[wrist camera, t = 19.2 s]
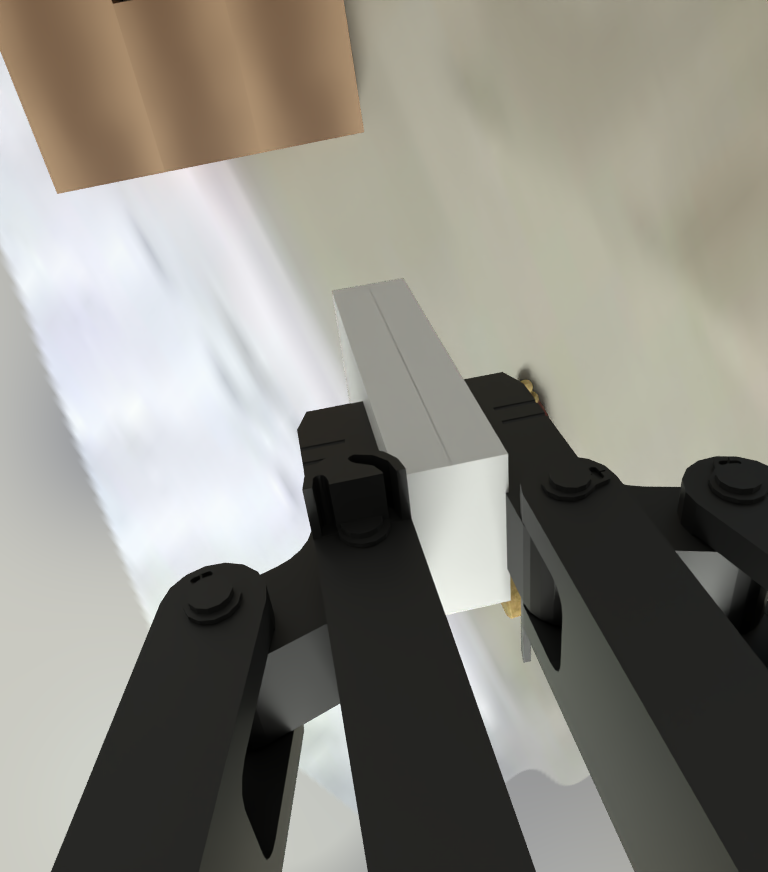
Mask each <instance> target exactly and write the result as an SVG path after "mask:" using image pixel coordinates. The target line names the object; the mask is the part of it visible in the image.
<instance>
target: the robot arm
mask: <svg viewBox="0 0 768 872" xmlns="http://www.w3.org/2000/svg"><path fill="white" fill-rule="evenodd" d="M332 296H333V302H334V308H335V315H336V321H337V327H338V333H339V340H340V346H341V352H342V358H343V365H344V371H345V377H346V383H347V390H348V396H349V402H350V404H345V405H340V406H335V407H329V408H324V409H319V410H314V411H309V412H306V414H305V416H304V418H303V420H302V422H301V424H300V426H299V427H298V429H297V432H298V438H299V444H300V450H301V456H302V462H303V468H304V475H305V477H304V483H303V489H302V490H303V495H304V499H305V504H306V508H307V513H308V518H309V522H310V527H311V533H310V536H309V539H308V541H307V542H306V543H305V545H304V546H303V547H302V549H301V550H300V551H299V552H298V553H297V554H295V555H294V556H293V557H292V558H291V559H289V560H288V561H286V562H284V563H283V564H281V565H279V566H277V567H276V568H273V569H271V570H269V571H267V572H265V573H263V574H261V575H260V574H259V573H258V572H257V571H255V570H253V569H251V568H249V567H247V566H245V565H243V564H233V563H221V564H216V565H210V566H205V567H203V568H201V569H199V570H196V571H194V572H192V573H190V574H188V575H186V576H185V577H183V578H182V579H181V580H180V581H178V582H177V583H176V584H175V585H173V586H172V587H171V588H170V589H169V591H168V592H167V594H166V595H165V597H164V598H163V600H162V602H161V603H160V605H159V608H158V610H157V613H156V615H155V618H154V620H153V622H152V625H151V627H150V630H149V632H148V635H147V637H146V640H145V642H144V645H143V647H142V650H141V652H140V655H139V657H138V659H137V662H136V664H135V667H134V669H133V672H132V674H131V677H130V679H129V681H128V684H127V686H126V689H125V691H124V694H123V696H122V699H121V701H120V703H119V706H118V708H117V711H116V713H115V716H114V718H113V721H112V723H111V726H110V728H109V731H108V733H107V735H106V738H105V740H104V743H103V745H102V748H101V750H100V753H99V755H98V758H97V760H96V763H95V765H94V767H93V770H92V772H91V775H90V777H89V780H88V782H87V785H86V787H85V789H84V792H83V795H82V797H81V799H80V802H79V804H78V807H77V809H76V812H75V814H74V817H73V819H72V821H71V824H70V826H69V829H68V831H67V834H66V837H65V839H64V841H63V844H62V846H61V848H60V851H59V854H58V856H57V858H56V861H55V863H54V866H53V868H52V871H51V872H282V867H283V860H284V855H285V848H286V842H287V835H288V829H289V823H290V816H291V810H292V804H293V797H294V791H295V784H296V778H297V771H298V766H299V759H300V753H301V747H302V740H303V734H304V724H305V723H307V722H308V721H310V720H312V719H314V718H315V717H317V716H319V715H321V714H322V713H324V712H326V711H328V710H329V709H331V708H333V707H335V706H336V705H338V704H340V705H341V711H342V717H343V723H344V729H345V735H346V741H347V747H348V753H349V759H350V766H351V772H352V778H353V784H354V790H355V796H356V802H357V808H358V814H359V820H360V826H361V832H362V838H363V844H364V850H365V856H366V863H367V869H368V872H536V871H535V868H534V865H533V862H532V859H531V856H530V854H529V851H528V848H527V845H526V842H525V839H524V836H523V834H522V831H521V828H520V825H519V822H518V819H517V817H516V814H515V811H514V808H513V805H512V803H511V800H510V797H509V794H508V791H507V788H506V785H505V782H504V780H503V777H502V774H501V771H500V768H499V765H498V763H497V760H496V757H495V754H494V751H493V748H492V745H491V743H490V740H489V737H488V734H487V731H486V728H485V726H484V723H483V720H482V717H481V714H480V711H479V709H478V706H477V703H476V700H475V697H474V694H473V691H472V689H471V686H470V683H469V680H468V677H467V674H466V672H465V669H464V666H463V663H462V660H461V657H460V655H459V652H458V649H457V646H456V643H455V640H454V637H453V635H452V632H451V629H450V626H449V623H448V620H447V618H446V615H449V614H453V613H458V612H462V611H466V610H471V609H475V608H480V607H484V606H489V605H493V604H498V603H502V602H507V601H511V590H510V576H511V578H512V580H513V582H514V584H515V586H516V588H517V590H518V592H519V594H520V596H521V651H522V657H523V662H524V663H525V662H529V661H531V646H532V648H533V650H534V652H535V654H536V657H537V659H538V661H539V663H540V665H541V668H542V670H543V672H544V674H545V676H546V678H547V681H548V683H549V685H550V687H551V689H552V692H553V694H554V696H555V698H556V700H557V703H558V705H559V707H560V709H561V711H562V714H563V716H564V718H565V720H566V722H567V725H568V727H569V729H570V731H571V733H572V735H573V738H574V740H575V742H576V744H577V746H578V749H579V751H580V753H581V755H582V757H583V760H584V762H585V764H586V766H587V768H588V771H589V773H590V775H591V777H592V779H593V781H594V784H595V785H596V788H597V790H598V792H599V795H600V797H601V799H602V801H603V803H604V805H605V808H606V810H607V812H608V814H609V817H610V819H611V821H612V823H613V825H614V827H615V829H616V832H617V834H618V836H619V838H620V841H621V843H622V845H623V847H624V849H625V852H626V853H627V856H628V858H629V860H630V863H631V865H632V867H633V869H634V871H635V872H768V466H767V465H765V464H762V463H760V462H758V461H754V460H750V459H745V458H740V457H726V456H716V457H711V458H707V459H703V460H699V461H697V462H696V463H694V464H693V465H691V466H690V467H688V468H687V469H686V471H685V474H684V476H683V478H682V483H681V487H642V486H630V485H624V484H623V483H622V482H621V481H620V480H619V478H618V477H617V476H616V475H615V474H614V473H613V472H612V471H610V470H609V469H608V468H607V467H606V466H605V465H602V464H600V463H597V462H595V461H592V460H590V459H586V458H579V457H577V455H576V454H575V453H574V451H573V450H572V449H571V447H570V446H569V444H568V443H567V442H566V440H565V439H564V438H563V436H562V435H561V434H560V432H559V431H558V430H557V428H556V427H555V425H554V424H553V423H552V421H551V420H550V419H549V417H548V416H545V412H544V410H543V409H542V408H541V406H540V405H539V404H538V402H537V403H536V401H535V398H534V397H533V396H532V394H531V393H530V391H529V390H528V389H527V387H526V386H525V385H524V384H523V383H522V382H520V381H518V380H516V379H514V378H512V377H511V376H509V375H507V374H505V373H503V372H500V373H495V374H490V375H485V376H480V377H474V378H469V379H463V377H462V376H461V374H460V372H459V371H458V369H457V367H456V366H455V364H454V362H453V361H452V359H451V357H450V356H449V354H448V352H447V350H446V349H445V347H444V345H443V344H442V342H441V340H440V339H439V337H438V335H437V334H436V332H435V330H434V329H433V327H432V325H431V324H430V322H429V320H428V319H427V317H426V315H425V314H424V312H423V310H422V309H421V307H420V305H419V303H418V302H417V300H416V298H415V297H414V295H413V293H412V292H411V290H410V288H409V287H408V285H407V283H406V282H405V280H404V278H401V279H395V280H389V281H384V282H378V283H372V284H367V285H361V286H355V287H350V288H344V289H338V290H333V291H332Z"/></svg>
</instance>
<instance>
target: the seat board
mask: <svg viewBox="0 0 768 872" xmlns="http://www.w3.org/2000/svg"><path fill="white" fill-rule="evenodd" d="M0 51H1V54H2V56H3V59H4V61H5V64H6V66H7V69H8V71H9V74H10V76H11V79H12V81H13V84H14V86H15V89H16V91H17V94H18V96H19V99H20V101H21V104H22V106H23V109H24V111H25V114H26V116H27V119H28V121H29V124H30V126H31V129H32V131H33V134H34V136H35V139H36V141H37V144H38V146H39V149H40V151H41V154H42V157H43V159H44V162H45V164H46V167H47V169H48V172H49V174H50V177H51V179H52V182H53V184H54V187H55V189H56V192H57V194H59V193H64V192H69V191H74V190H79V189H84V188H89V187H94V186H99V185H104V184H109V183H114V182H118V181H123V180H128V179H133V178H138V177H143V176H148V175H153V174H158V173H163V172H168V171H173V170H178V169H183V168H188V167H193V166H198V165H203V164H208V163H213V162H218V161H223V160H228V159H233V158H238V157H243V156H248V155H253V154H258V153H262V152H267V151H272V150H277V149H282V148H287V147H292V146H297V145H302V144H307V143H312V142H317V141H322V140H327V139H332V138H337V137H342V136H347V135H352V134H357V133H362V132H364V128H363V122H362V115H361V109H360V103H359V96H358V90H357V83H356V77H355V70H354V64H353V58H352V51H351V45H350V38H349V32H348V26H347V19H346V13H345V6H344V0H128V1H122V2H120V0H0Z"/></svg>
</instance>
